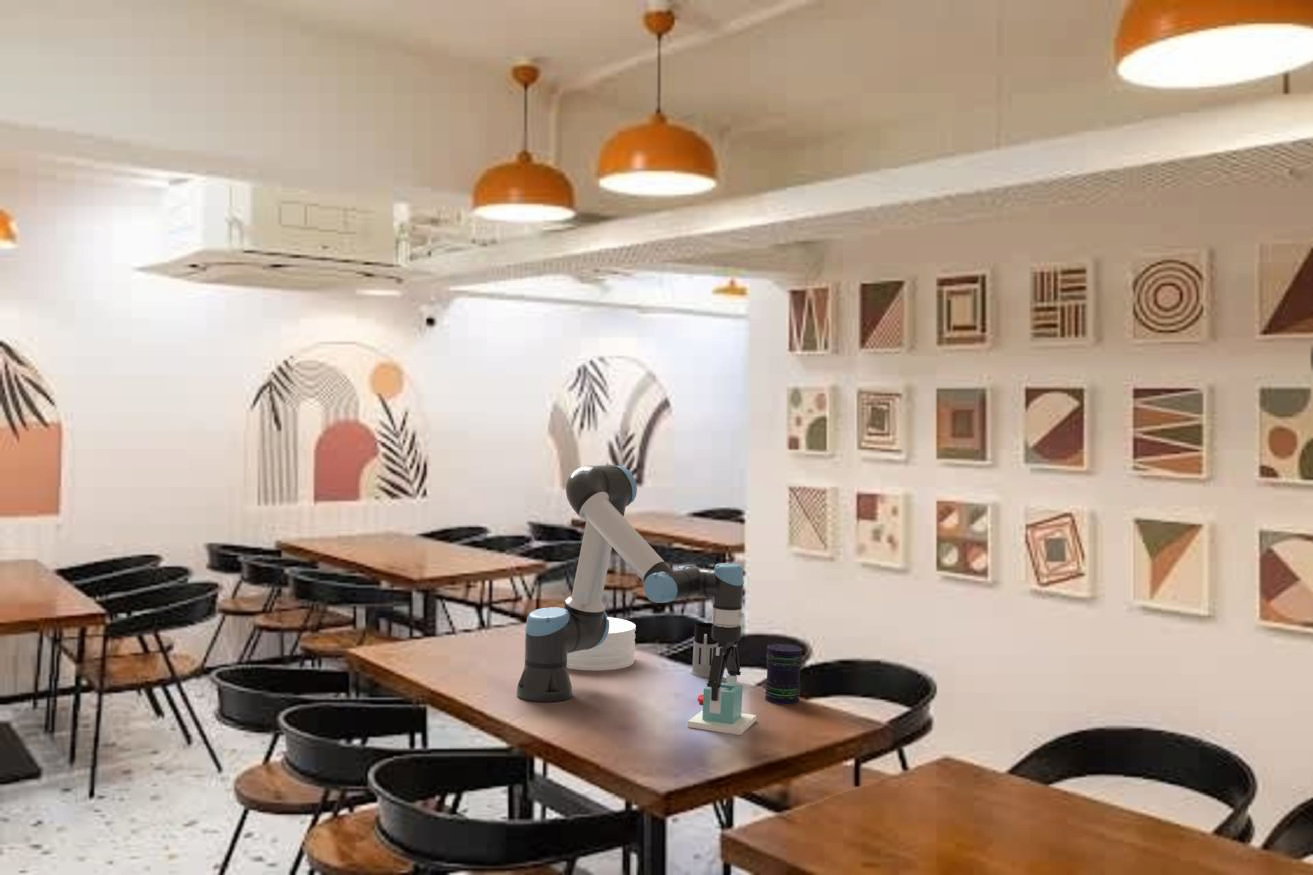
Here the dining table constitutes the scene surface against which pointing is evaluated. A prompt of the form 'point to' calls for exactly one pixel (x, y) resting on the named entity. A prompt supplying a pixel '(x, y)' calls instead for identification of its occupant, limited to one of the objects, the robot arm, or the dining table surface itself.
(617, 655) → the plate stack
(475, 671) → the dining table surface
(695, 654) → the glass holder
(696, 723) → the post stand
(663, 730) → the dining table surface
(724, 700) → the sleeve
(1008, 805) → the dining table surface
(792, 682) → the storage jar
